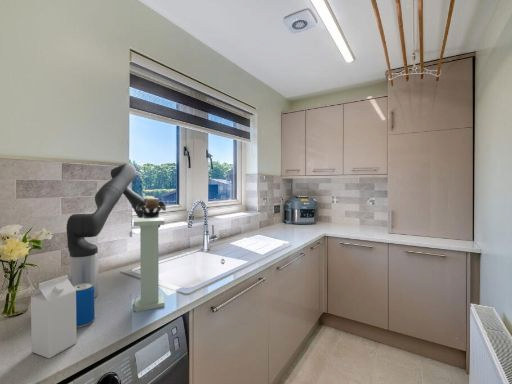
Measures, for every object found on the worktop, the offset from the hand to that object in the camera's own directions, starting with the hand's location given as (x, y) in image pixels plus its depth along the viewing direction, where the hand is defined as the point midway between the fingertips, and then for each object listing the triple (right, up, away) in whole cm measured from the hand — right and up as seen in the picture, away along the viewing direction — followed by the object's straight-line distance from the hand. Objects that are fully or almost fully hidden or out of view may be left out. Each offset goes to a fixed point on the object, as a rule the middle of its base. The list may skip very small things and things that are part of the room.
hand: (151, 199), depth 116 cm
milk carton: (-8, -39, -46) cm, 61 cm away
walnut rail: (+1, -3, -2) cm, 4 cm away
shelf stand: (+8, -39, -20) cm, 44 cm away
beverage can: (-9, -39, -33) cm, 52 cm away
